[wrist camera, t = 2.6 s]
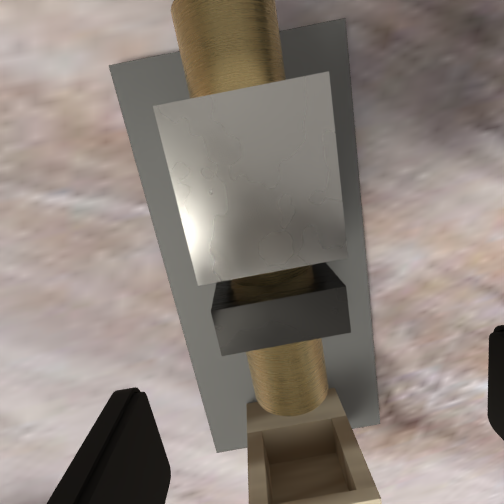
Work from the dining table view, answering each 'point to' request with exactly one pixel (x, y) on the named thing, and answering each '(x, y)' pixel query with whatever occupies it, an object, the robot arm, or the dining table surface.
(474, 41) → the dining table surface
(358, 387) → the board
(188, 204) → the sleeve
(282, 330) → the tube
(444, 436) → the dining table surface
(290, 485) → the socket
